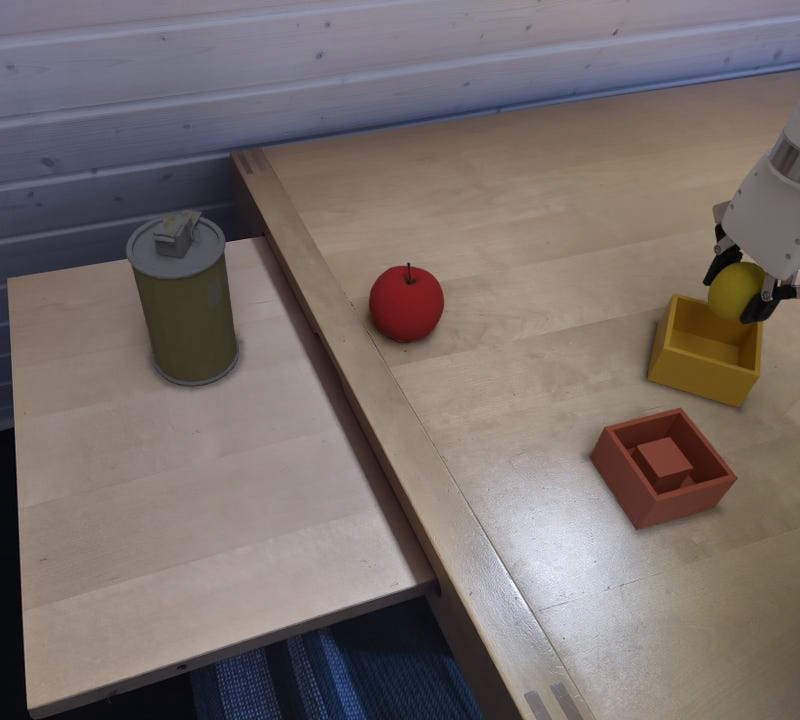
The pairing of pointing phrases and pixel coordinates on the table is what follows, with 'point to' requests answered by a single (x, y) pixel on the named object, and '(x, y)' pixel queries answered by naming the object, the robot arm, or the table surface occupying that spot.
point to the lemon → (735, 289)
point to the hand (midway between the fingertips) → (733, 299)
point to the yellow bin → (705, 352)
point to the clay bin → (632, 485)
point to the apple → (406, 303)
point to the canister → (185, 296)
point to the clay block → (662, 464)
